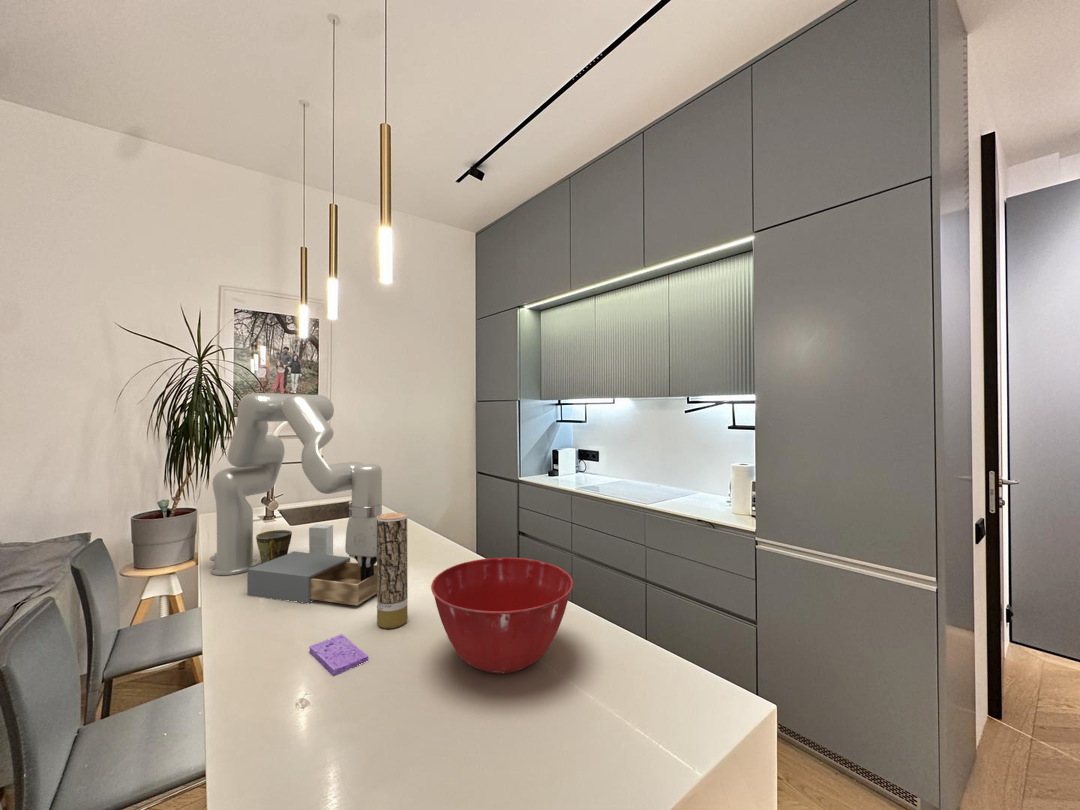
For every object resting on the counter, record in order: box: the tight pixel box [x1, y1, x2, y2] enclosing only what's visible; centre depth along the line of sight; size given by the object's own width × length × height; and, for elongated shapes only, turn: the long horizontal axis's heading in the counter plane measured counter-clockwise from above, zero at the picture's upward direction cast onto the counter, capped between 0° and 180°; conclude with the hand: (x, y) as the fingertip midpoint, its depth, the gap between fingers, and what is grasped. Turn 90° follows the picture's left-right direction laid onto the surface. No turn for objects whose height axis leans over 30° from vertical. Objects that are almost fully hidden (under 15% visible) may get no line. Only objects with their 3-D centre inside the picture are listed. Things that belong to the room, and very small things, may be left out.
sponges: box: [308, 633, 369, 676], centre depth 95 cm, size 7×13×2 cm, turn 46°
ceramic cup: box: [255, 529, 293, 564], centre depth 148 cm, size 13×10×10 cm
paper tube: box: [376, 512, 409, 629], centre depth 109 cm, size 7×7×25 cm
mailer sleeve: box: [246, 551, 351, 604], centre depth 130 cm, size 20×16×7 cm
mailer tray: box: [310, 561, 377, 607], centre depth 126 cm, size 19×14×5 cm
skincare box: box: [308, 524, 334, 556], centre depth 151 cm, size 6×4×12 cm
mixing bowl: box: [430, 557, 574, 675], centre depth 95 cm, size 28×28×16 cm
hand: (367, 580), depth 124 cm, fingers closed
